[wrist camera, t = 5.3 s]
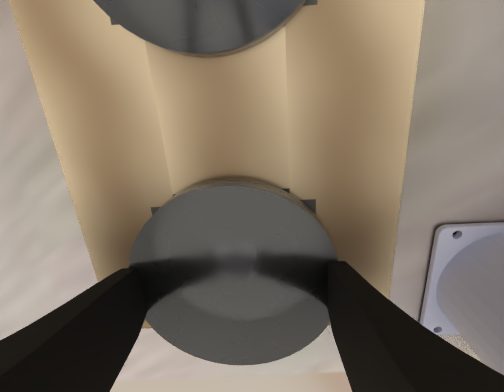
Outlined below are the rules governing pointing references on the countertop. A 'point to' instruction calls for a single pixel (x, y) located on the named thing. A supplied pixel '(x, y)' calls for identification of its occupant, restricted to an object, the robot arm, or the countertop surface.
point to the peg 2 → (235, 272)
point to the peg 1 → (202, 23)
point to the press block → (232, 119)
